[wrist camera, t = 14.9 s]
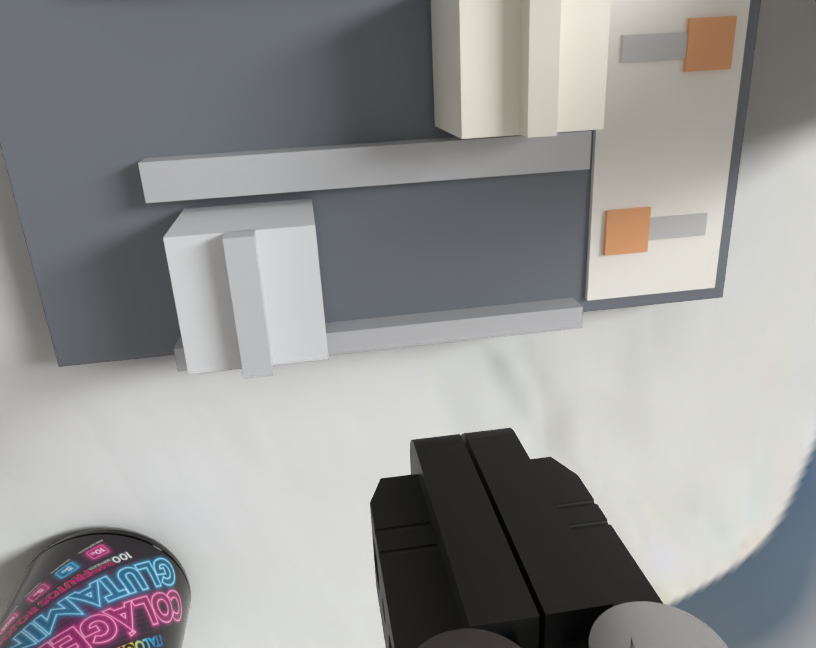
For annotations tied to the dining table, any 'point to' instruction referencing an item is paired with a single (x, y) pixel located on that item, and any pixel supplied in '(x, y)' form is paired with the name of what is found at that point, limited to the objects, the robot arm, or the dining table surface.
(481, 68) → the cream tab
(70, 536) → the supplement container
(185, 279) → the white block with rib
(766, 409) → the dining table surface
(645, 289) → the switch panel
